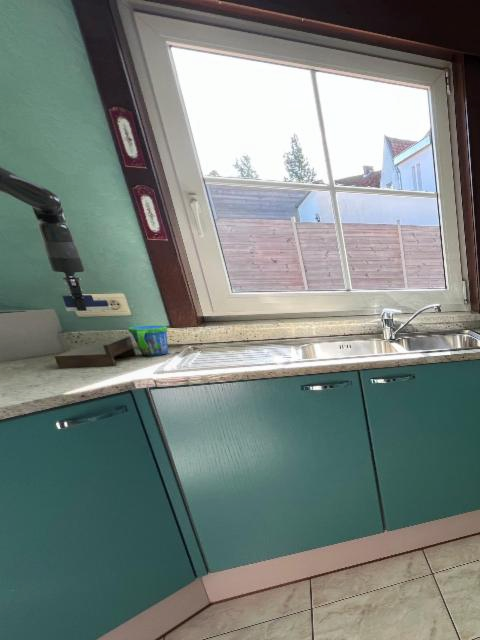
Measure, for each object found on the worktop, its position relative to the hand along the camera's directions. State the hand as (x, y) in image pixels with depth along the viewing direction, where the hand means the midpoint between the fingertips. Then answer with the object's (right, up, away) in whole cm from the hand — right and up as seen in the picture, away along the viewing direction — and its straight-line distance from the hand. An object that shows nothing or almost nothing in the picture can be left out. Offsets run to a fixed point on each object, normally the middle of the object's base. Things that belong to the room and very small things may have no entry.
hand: (81, 309), depth 167 cm
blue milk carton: (+1, 0, +1) cm, 2 cm away
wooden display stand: (+2, -17, +4) cm, 18 cm away
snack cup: (+10, -12, +17) cm, 23 cm away
